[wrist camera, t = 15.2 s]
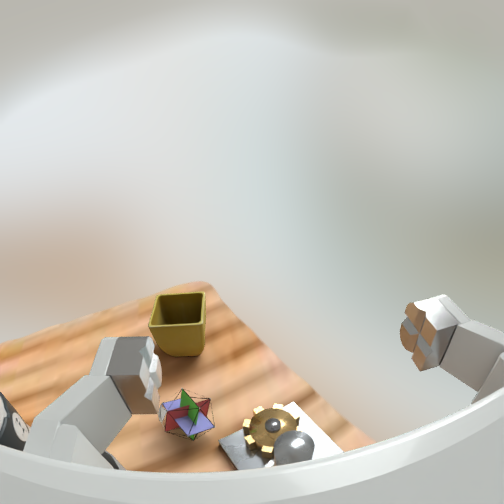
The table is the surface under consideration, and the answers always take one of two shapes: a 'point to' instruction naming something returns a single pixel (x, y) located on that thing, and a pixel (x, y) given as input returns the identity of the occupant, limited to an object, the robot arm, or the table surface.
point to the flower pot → (179, 323)
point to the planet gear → (292, 448)
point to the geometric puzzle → (186, 415)
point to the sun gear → (269, 428)
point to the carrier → (253, 459)
